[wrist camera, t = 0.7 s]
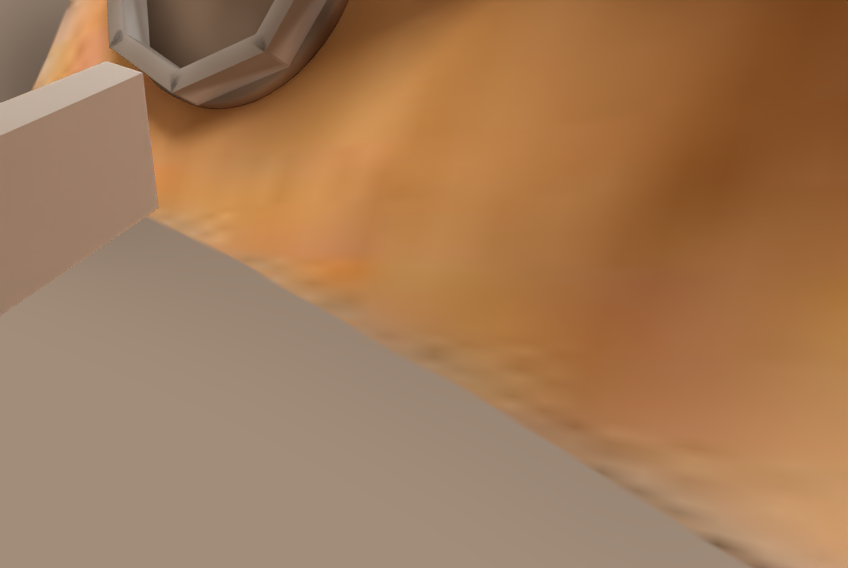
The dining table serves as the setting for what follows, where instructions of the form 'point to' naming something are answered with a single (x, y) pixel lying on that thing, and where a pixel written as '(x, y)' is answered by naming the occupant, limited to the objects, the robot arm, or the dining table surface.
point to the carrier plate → (220, 44)
